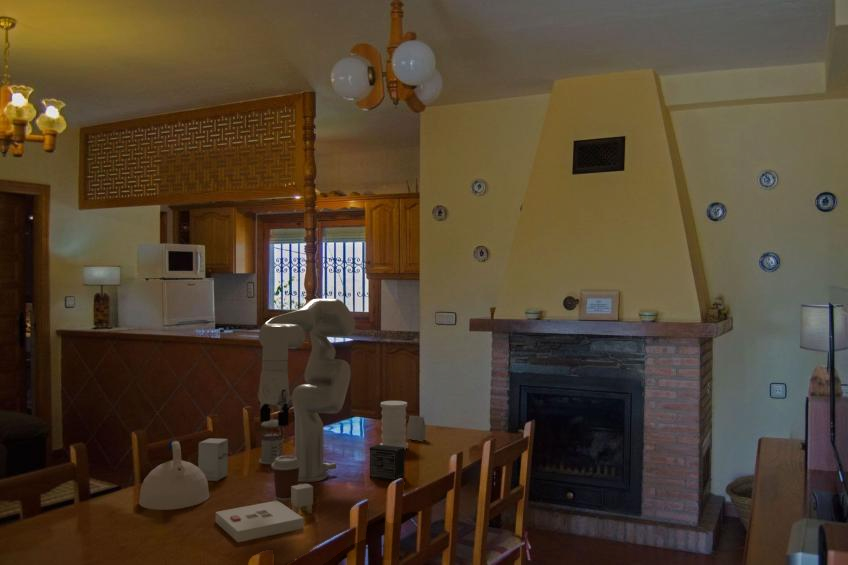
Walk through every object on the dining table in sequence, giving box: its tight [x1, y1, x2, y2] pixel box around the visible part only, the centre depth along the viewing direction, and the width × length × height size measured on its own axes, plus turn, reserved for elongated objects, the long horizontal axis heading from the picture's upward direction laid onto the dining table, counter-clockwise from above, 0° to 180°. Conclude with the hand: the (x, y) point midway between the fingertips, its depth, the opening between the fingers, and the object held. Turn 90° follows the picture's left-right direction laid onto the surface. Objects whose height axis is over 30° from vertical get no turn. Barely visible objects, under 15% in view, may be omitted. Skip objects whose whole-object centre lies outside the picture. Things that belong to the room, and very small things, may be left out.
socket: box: [215, 500, 305, 543], centre depth 185 cm, size 18×18×3 cm
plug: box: [290, 483, 314, 515], centre depth 196 cm, size 5×5×8 cm
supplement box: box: [197, 437, 229, 482], centre depth 231 cm, size 7×7×13 cm
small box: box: [369, 444, 405, 482], centre depth 232 cm, size 11×6×10 cm, turn 65°
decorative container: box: [379, 400, 409, 450], centre depth 276 cm, size 12×12×18 cm
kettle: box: [138, 439, 210, 511], centre depth 208 cm, size 20×21×18 cm
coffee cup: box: [270, 455, 301, 502], centre depth 210 cm, size 9×9×12 cm
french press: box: [258, 405, 285, 465], centre depth 255 cm, size 10×12×25 cm
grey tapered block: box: [406, 415, 426, 442], centre depth 289 cm, size 4×7×10 cm, turn 61°
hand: (274, 423), depth 205 cm, fingers open, 9 cm apart
